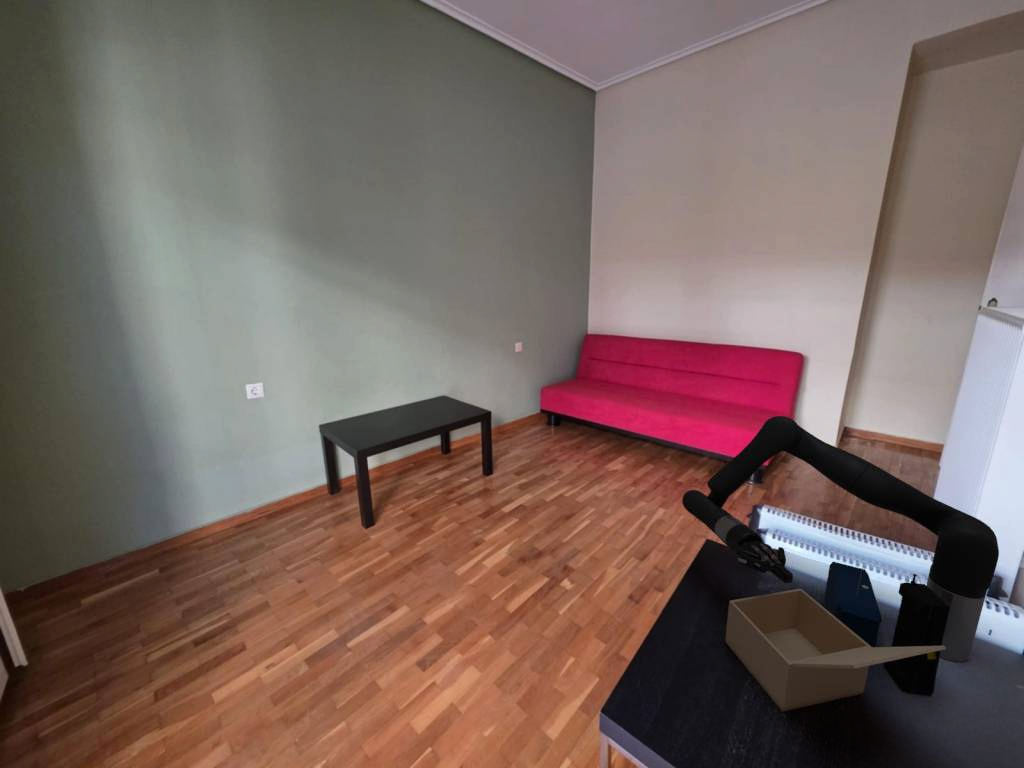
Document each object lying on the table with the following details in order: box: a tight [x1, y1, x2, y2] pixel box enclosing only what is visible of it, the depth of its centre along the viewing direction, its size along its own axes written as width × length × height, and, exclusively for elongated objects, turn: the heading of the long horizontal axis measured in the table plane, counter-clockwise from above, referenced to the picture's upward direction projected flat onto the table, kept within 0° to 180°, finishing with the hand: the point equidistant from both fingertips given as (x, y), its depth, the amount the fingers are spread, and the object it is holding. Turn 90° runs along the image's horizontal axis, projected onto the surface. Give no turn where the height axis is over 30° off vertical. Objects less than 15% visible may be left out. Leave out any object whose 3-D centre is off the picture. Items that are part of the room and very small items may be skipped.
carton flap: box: [792, 646, 946, 668], centre depth 79 cm, size 16×19×1 cm
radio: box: [824, 561, 883, 647], centre depth 106 cm, size 21×9×20 cm, turn 148°
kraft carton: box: [724, 588, 871, 713], centre depth 96 cm, size 18×20×12 cm
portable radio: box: [883, 573, 950, 697], centre depth 89 cm, size 8×6×25 cm
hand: (789, 579), depth 95 cm, fingers closed
